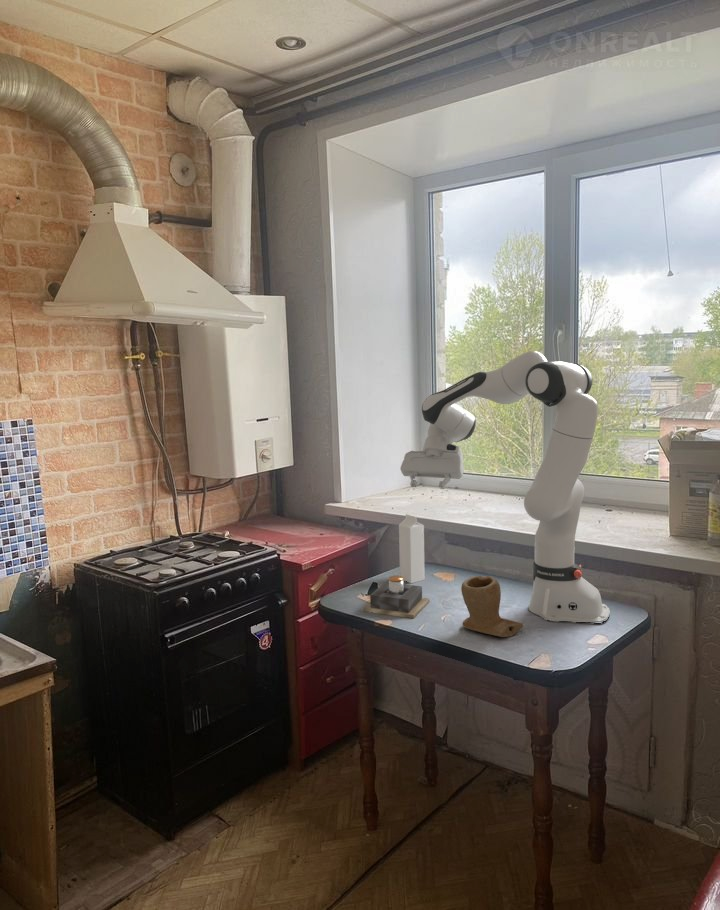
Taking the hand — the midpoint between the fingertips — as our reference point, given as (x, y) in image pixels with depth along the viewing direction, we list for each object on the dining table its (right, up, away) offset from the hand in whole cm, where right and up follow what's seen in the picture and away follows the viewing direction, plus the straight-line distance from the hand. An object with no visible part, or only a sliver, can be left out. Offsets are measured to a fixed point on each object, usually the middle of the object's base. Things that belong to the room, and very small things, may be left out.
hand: (427, 486), depth 215 cm
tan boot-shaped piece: (+14, -38, -30) cm, 51 cm away
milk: (-4, -32, +14) cm, 35 cm away
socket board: (-10, -36, -10) cm, 38 cm away
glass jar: (-10, -35, -10) cm, 37 cm away
